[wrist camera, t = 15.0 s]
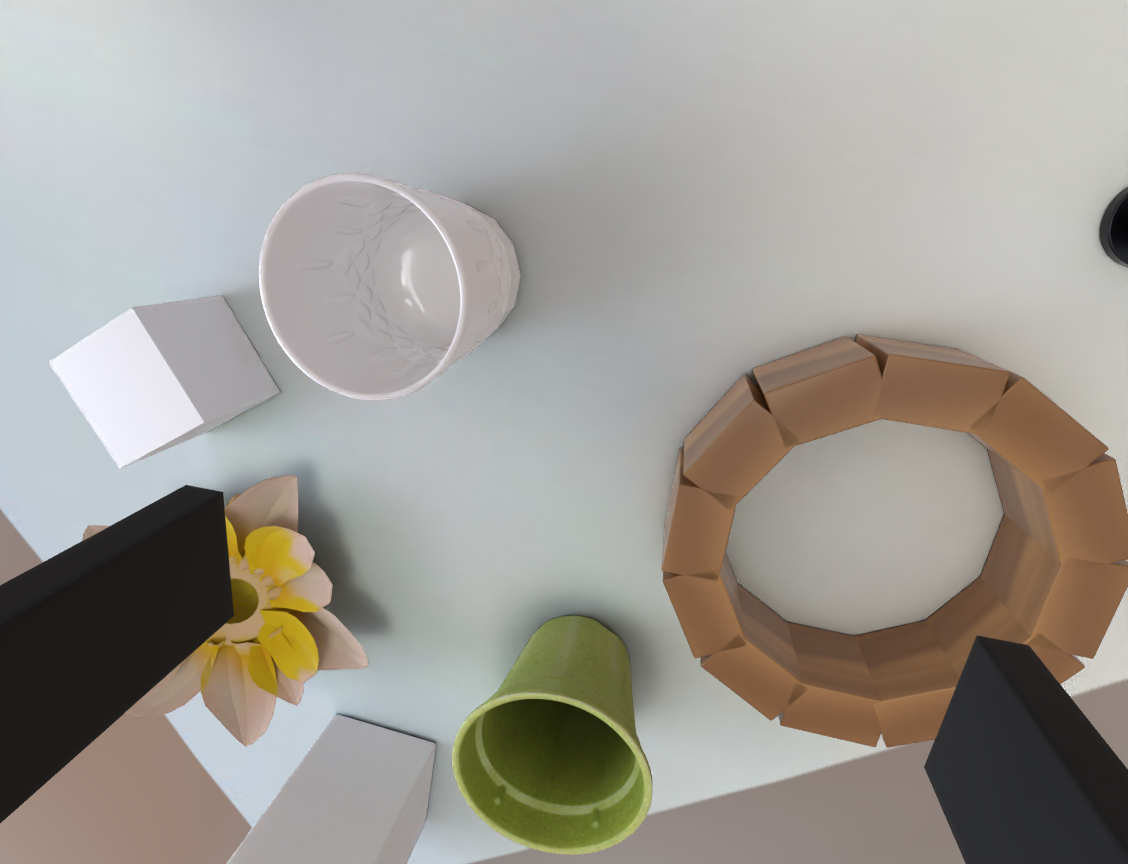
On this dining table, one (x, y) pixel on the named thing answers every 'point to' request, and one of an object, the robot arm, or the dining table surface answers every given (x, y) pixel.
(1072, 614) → the ring
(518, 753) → the plant pot
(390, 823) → the milk carton
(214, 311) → the white cube
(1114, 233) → the peg
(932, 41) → the dining table surface
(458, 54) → the dining table surface
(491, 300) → the white cup
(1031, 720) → the robot arm
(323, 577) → the decorative flower
